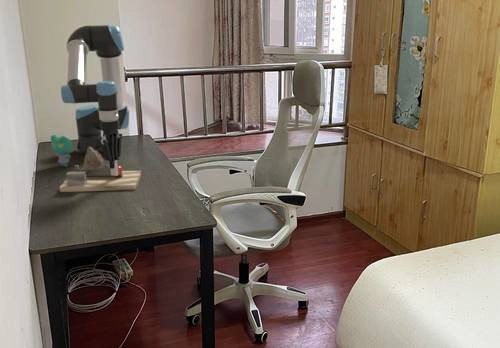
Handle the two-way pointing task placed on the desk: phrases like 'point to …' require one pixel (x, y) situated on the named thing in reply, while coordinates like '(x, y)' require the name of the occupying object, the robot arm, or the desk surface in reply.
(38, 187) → the desk surface
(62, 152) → the toy
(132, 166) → the desk surface
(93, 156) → the rock
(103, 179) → the board
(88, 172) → the lever
